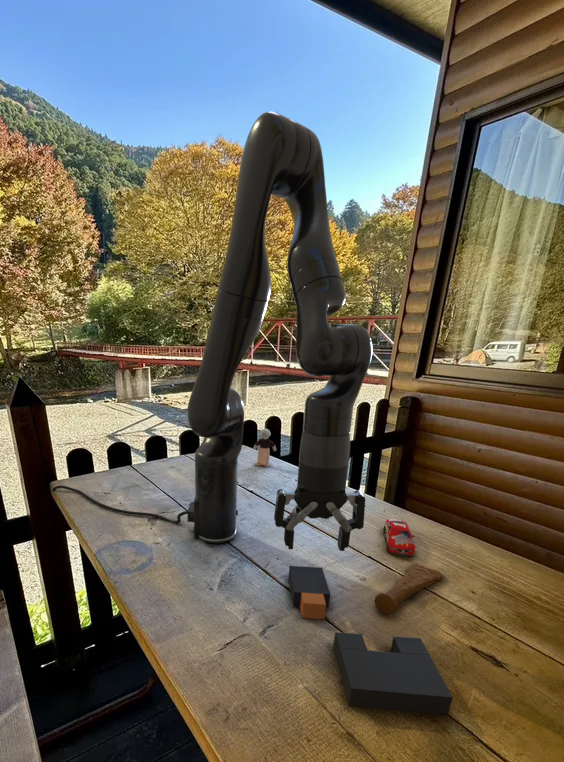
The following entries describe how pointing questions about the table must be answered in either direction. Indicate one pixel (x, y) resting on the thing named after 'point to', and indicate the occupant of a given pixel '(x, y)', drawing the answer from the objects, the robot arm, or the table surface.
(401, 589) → the primitive tool
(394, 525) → the race car
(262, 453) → the grandmother figurine
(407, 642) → the black pad
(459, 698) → the table surface
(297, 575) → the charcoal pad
